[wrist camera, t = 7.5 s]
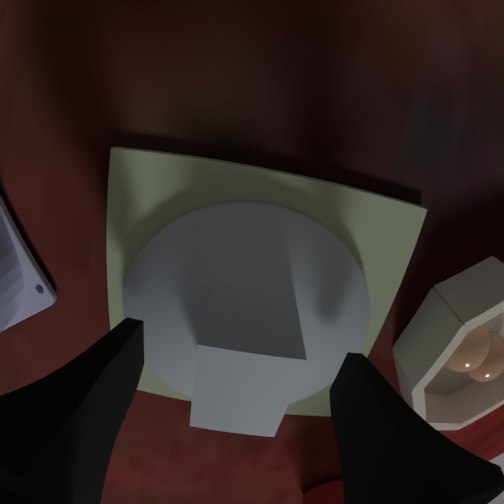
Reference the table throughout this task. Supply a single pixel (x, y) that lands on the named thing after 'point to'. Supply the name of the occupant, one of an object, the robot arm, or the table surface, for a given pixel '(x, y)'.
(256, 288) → the lid
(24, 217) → the table surface
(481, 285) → the bowl
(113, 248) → the mat
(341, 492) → the beer can
